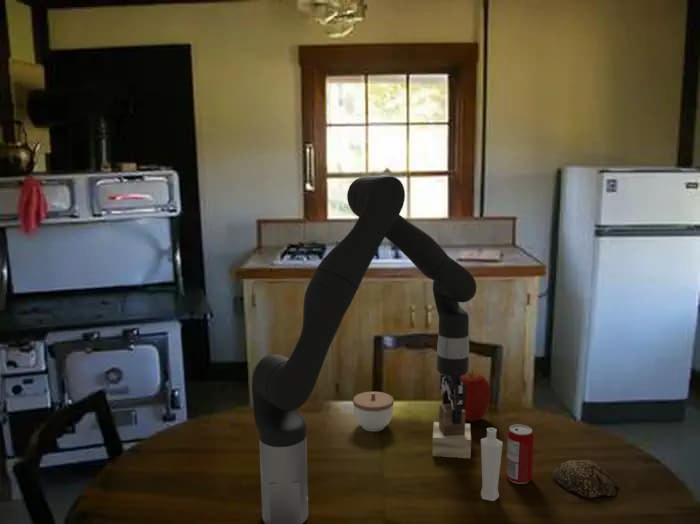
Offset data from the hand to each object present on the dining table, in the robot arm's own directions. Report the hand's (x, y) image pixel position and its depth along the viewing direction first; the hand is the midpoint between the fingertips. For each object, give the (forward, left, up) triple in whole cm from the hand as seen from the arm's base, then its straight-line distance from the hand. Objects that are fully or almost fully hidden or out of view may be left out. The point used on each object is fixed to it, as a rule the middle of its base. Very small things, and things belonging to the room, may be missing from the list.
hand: (451, 416), depth 154 cm
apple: (+16, -10, -9) cm, 21 cm away
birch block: (0, 0, -9) cm, 9 cm away
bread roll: (-20, -25, -9) cm, 33 cm away
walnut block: (0, 0, -4) cm, 4 cm away
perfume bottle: (-22, -2, -9) cm, 24 cm away
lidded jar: (+15, +17, -9) cm, 24 cm away
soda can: (-16, -11, -9) cm, 21 cm away
